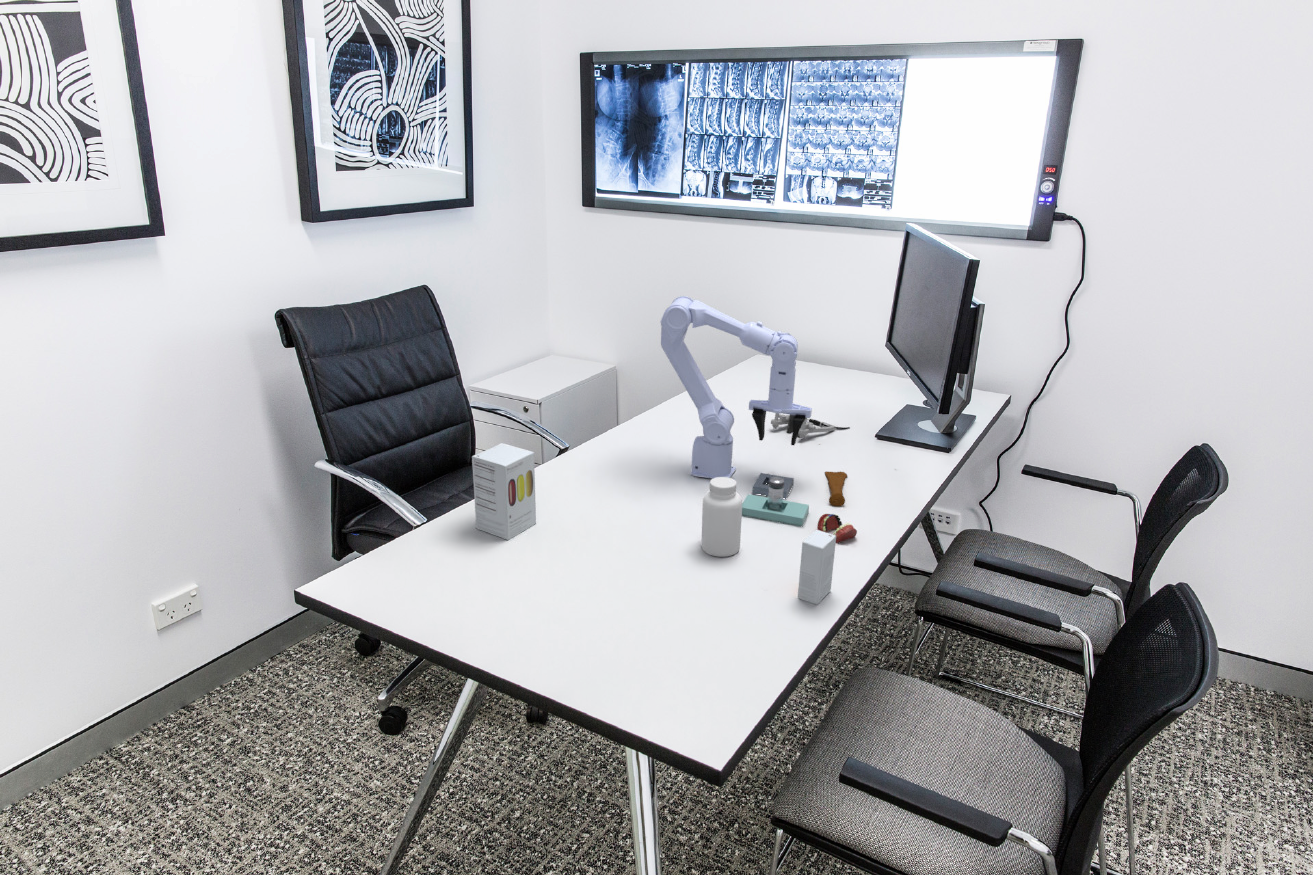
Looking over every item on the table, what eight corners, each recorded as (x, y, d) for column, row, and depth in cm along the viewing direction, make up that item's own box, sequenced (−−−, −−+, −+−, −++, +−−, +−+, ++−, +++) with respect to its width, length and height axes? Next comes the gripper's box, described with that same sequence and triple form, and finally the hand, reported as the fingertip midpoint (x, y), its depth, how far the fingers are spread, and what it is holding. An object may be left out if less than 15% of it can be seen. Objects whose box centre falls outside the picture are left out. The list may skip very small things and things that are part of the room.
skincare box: (810, 583, 162) (816, 528, 157) (831, 591, 160) (837, 535, 155) (796, 598, 157) (801, 541, 153) (817, 605, 155) (823, 548, 150)
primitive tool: (824, 473, 210) (825, 460, 209) (846, 474, 209) (848, 461, 208) (827, 508, 192) (829, 494, 191) (852, 510, 192) (854, 496, 190)
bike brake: (803, 443, 224) (848, 436, 238) (808, 418, 223) (853, 413, 236) (765, 428, 234) (810, 423, 247) (769, 405, 232) (814, 400, 245)
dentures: (842, 528, 174) (815, 513, 180) (840, 546, 175) (813, 531, 182) (862, 522, 177) (834, 508, 183) (859, 540, 178) (832, 525, 185)
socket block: (752, 493, 197) (752, 486, 196) (760, 480, 204) (760, 472, 203) (786, 499, 195) (786, 492, 194) (793, 485, 202) (793, 478, 201)
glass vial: (765, 514, 187) (768, 481, 184) (768, 508, 190) (770, 475, 187) (780, 516, 186) (783, 484, 183) (782, 510, 189) (785, 478, 186)
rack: (739, 515, 187) (740, 507, 186) (747, 502, 193) (747, 494, 192) (802, 526, 183) (803, 518, 182) (808, 512, 189) (809, 504, 188)
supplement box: (508, 541, 175) (504, 466, 168) (474, 529, 179) (469, 456, 173) (537, 523, 182) (535, 451, 176) (505, 511, 187) (501, 441, 180)
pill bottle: (698, 539, 177) (701, 473, 171) (736, 538, 178) (740, 473, 172) (703, 558, 170) (706, 491, 164) (742, 557, 170) (747, 490, 165)
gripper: (746, 388, 195) (743, 442, 200) (809, 396, 190) (804, 452, 195) (754, 379, 201) (750, 432, 206) (815, 387, 196) (810, 441, 202)
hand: (777, 441), depth 201 cm, fingers open, 7 cm apart
